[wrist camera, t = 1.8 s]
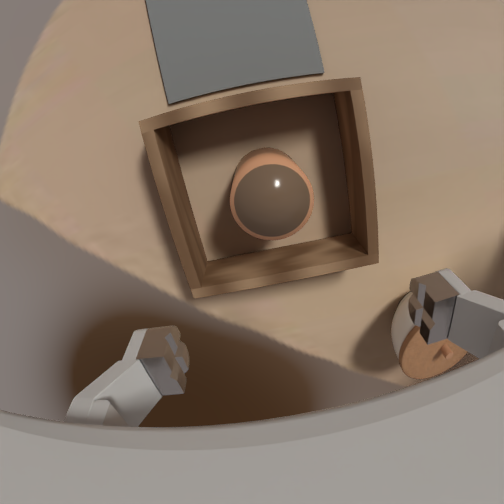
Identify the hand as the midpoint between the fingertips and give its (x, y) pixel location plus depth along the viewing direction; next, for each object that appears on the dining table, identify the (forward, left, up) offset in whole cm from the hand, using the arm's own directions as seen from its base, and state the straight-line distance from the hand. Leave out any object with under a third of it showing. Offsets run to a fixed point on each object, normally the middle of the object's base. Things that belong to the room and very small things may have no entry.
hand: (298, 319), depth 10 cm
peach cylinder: (0, 0, -20) cm, 20 cm away
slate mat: (0, -15, -20) cm, 25 cm away
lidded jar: (-16, +19, -20) cm, 32 cm away
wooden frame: (0, 0, -20) cm, 20 cm away
